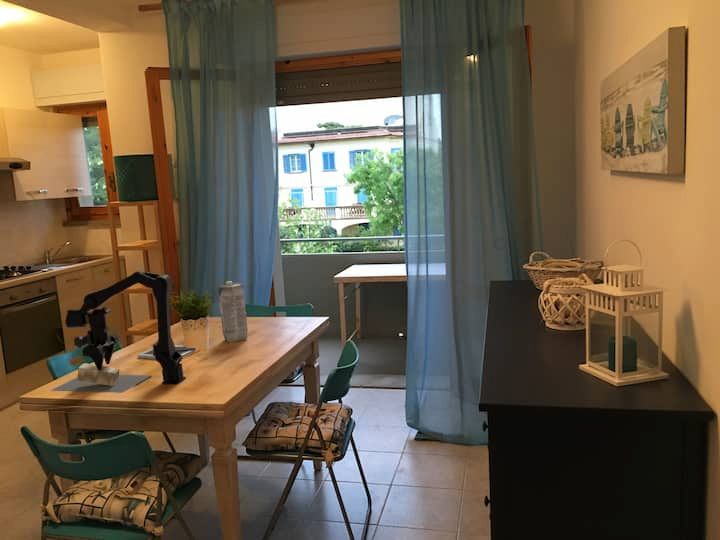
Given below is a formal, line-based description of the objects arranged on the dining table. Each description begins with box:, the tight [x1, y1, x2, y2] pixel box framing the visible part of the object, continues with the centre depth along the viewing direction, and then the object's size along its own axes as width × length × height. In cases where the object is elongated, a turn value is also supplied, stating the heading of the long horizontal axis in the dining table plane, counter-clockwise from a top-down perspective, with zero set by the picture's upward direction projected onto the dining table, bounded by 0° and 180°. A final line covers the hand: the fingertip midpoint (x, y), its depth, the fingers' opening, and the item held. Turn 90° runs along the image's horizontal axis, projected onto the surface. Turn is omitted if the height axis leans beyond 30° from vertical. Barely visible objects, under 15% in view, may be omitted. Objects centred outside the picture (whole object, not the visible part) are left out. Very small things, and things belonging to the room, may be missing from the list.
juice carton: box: [217, 280, 248, 343], centre depth 272 cm, size 9×10×27 cm
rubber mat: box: [50, 374, 153, 394], centre depth 223 cm, size 30×18×1 cm, turn 76°
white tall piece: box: [76, 362, 120, 386], centre depth 220 cm, size 5×5×13 cm
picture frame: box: [137, 344, 196, 360], centre depth 257 cm, size 16×3×21 cm
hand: (103, 367), depth 220 cm, fingers open, 7 cm apart
